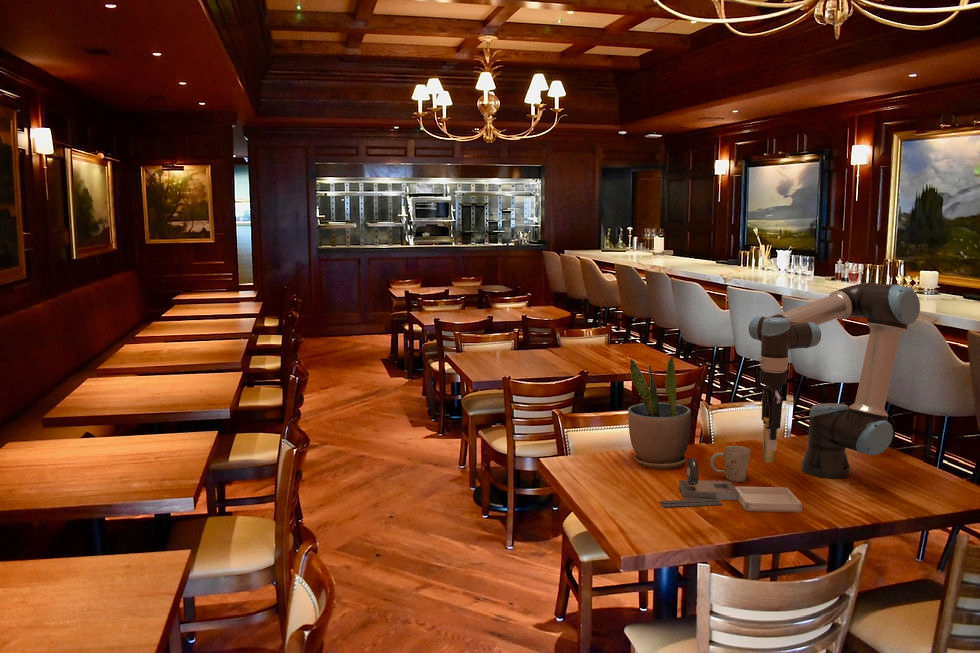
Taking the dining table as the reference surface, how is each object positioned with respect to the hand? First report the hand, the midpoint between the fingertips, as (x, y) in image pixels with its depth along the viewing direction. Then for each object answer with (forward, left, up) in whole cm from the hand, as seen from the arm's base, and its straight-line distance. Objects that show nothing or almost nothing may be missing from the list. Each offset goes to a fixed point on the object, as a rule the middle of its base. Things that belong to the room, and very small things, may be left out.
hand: (769, 447), depth 236 cm
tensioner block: (+16, -7, -17) cm, 24 cm away
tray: (0, 0, -17) cm, 17 cm away
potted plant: (+27, -37, -17) cm, 49 cm away
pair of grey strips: (+23, +2, -17) cm, 29 cm away
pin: (0, 0, -4) cm, 4 cm away
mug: (+6, -22, -17) cm, 29 cm away
